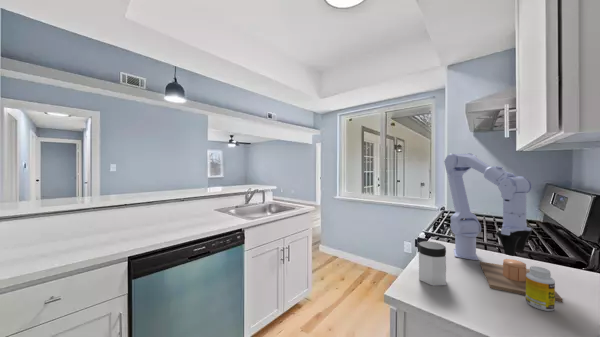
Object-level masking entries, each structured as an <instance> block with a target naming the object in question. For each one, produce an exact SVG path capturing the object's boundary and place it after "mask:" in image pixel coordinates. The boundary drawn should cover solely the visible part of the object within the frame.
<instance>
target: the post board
mask: <svg viewBox="0 0 600 337" xmlns="http://www.w3.org/2000/svg"><path fill="white" fill-rule="evenodd" d="M479 266H480V267H481V270H482V272H483V275H484V277H485V279H486V281H487V282H486V283H488V286H489V288H490V289H493V290H494V289H495V290H498V291H504V292H509V293H514V294H518V295H523V296H526V281H515V280H512V279H508V278H507V277H505V276H503V264H499V263H492V262H486V261H479ZM529 272H530V268H526V274H527V273H529ZM563 301H564V300H563V298H562V297H561V295H559V293H558V292H557V291H556V290H555V302H557V303H558V302H559V303H563Z"/></svg>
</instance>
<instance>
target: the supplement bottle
mask: <svg viewBox="0 0 600 337" xmlns="http://www.w3.org/2000/svg"><path fill="white" fill-rule="evenodd" d="M529 269H530V272H529V273H527V274H526V295H525V301H526V303H527V304H528V305H529V306H531V307H532V308H535V309H538V310H542V311H546V312H552V311H554V310H555V307H556V306H555V304H556V301H555V291H556V286H555V285H556V284H555V283H556V281H555V279H554V278H553V277H551V276H552V275H551V274H552V273H551V270H549V269H547V268H544V267H541V266H534V265H533V266H532V265H531V266H530V267H529Z"/></svg>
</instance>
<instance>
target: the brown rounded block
mask: <svg viewBox="0 0 600 337" xmlns="http://www.w3.org/2000/svg"><path fill="white" fill-rule="evenodd" d="M502 265H503V276H505V277H507V278H508V279H512V280H515V281H526V269H527V264H526V263H525V262H523V261H521V260H517V259H513V258H512V259H510V258H504V259H503V263H502Z"/></svg>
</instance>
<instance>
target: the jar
mask: <svg viewBox="0 0 600 337" xmlns="http://www.w3.org/2000/svg"><path fill="white" fill-rule="evenodd" d="M417 245H418V280H419V281H421V282H422V283H426V284H427V285H430V286H434V287H436V286H446V285H447V257H446V254H447V248H446V245H444V244H442V243H440V242H435V241H427V240H424V241H419V243H418V244H417Z"/></svg>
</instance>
